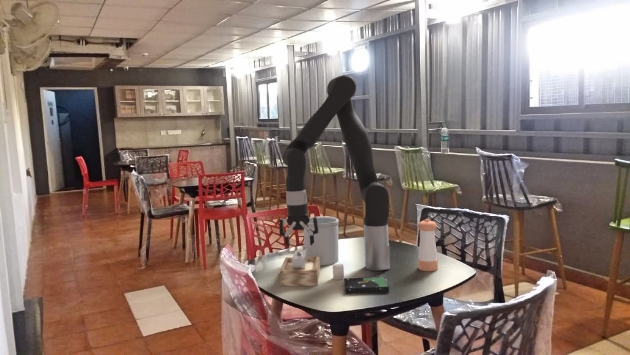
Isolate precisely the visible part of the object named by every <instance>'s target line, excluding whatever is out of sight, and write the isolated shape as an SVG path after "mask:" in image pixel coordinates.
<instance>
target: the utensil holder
mask: <svg viewBox="0 0 630 355" xmlns="http://www.w3.org/2000/svg"><path fill="white" fill-rule="evenodd" d="M312 217H313V216H312ZM312 217H311V216H310V218H312ZM316 217H317V223H318V233H317V234H314V244H313V245H310V234H309V233H308V232H307V231H306V230H305V229H303V239H304V240H303V241H304V243H303V244H304V250H307V257H317V256H320V267H321V266H331V265H334V264H337V263H338V262H339V218H337V217H333V216H325V215H324V216H316ZM308 225H309V227H310V228H311V229H312V230H315V229H314V223H312V222H311V221H309V223H308Z"/></svg>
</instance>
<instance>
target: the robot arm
mask: <svg viewBox="0 0 630 355" xmlns="http://www.w3.org/2000/svg"><path fill="white" fill-rule="evenodd" d="M356 91H357V84H356V81H355V79H354V78H353V77H351V76H350V75H346V74H345V75H344V74H343V75H339V76H337V77H333V78H332V79H331V80H329V82H328V84H327V87H326V92H327V97H326V99H325V100H324V102H323V103H322V104H321V106H320V107H319V108H318V109H317V110H316V112H314V113H313V115H311V116H310V118H309V119H308V120H307V121H306V122H305V124H304V125H303V127H302V128H301V130H300V131H299V133H298V134H297V136H296V137H295V138H294V139H293V140H292V141H291V142H290V143H289V144H288V145H287V147H286V148H285V149H284V151H283V152H282V156H281V159H282V162H283V164H284V165H285V166H286V167H287V176H286V177H285V188H286V189H285V190H286V192H285V193H286V195H285V196H286V210H287V212H286V213H287V218H282V217H281V218H280V219H279V221H278V222H279V226H278V227H279V236H283V237H284V241H285V242H284V243H285V246H287V247H290V246H291V244H290V243H291V242H290V234H291V232H292V230H294V231H298V230H301V231H302V230H303V231H304V229H305V230H306V231H307V232H308V233H309V234H310V245H313V244H314V234H317V233H318V223H317V217H318V216H312V218H311V217H309V209H308V196H307V190H306V179H305V176H306V169H307V168H306V167H307V166H306V165H307V159H306V156H305V154H306V153H307V151H308V150H310V149H312V148H313V147H314V146H315V145H316V143H317V142H318V140H319V139H320V138H321V136H322V134H323V133H324V132H325V130H326V129H327V128H328V126H329V125H330V123H331V121H332V120H333V119H334V118H335V116H337V120H338V124H339V127H340V131H341V134H342V137H343V141H344V144H345V147H346V151H347V154H348V155H349V159H350V161H351V163H352V166H353V168H354V172H355V174H356V177H357V181H358V182H357V183H358V188H359V190H360V191H359V192H360V196H361V199H362V201H363V202H364V203H365V213H364V217H363V231H364V232H363V233H364V256H365V259H364V260H365V262H364V263H365V269H367V270H368V271H369V270H370V271H386V270H390V269H391V261H390V260H391V257H390V243H389V218H390V195H389V191H388V189H387V187H385V185H383V184H381V183H380V180H379V177H378V176H377V173H376V170H375V167H374V166H375V165H374V156H373V155H374V154H373V147H372V143H371V139H370V137H369V134H368V131H367V129H366V127H365V125H364V124H363V122H362V120H361V119H360V118H359V116H358V115H357V113H356V111H355V108H354V105H353V101H352V98H353V97H354V96H355V94H356ZM309 221H311V222H312V223H314V229H315V230H312V229H311V228H310V227H309V225H308V223H309ZM286 223H287V224H288V226H289V227H288V228H287V231H284V230H285V229H284V227H285V225H286Z"/></svg>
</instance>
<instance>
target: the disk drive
mask: <svg viewBox="0 0 630 355" xmlns="http://www.w3.org/2000/svg"><path fill="white" fill-rule="evenodd" d="M343 281H344V282H343V285H344V294H345V295H364V294H365V295H368V294H388V293H389V294H390V285H389V282H388V280H387V277H383V276H382V277H380V276H376V277H375V276H374V277H349V278H347V277H346V278H345V277H344V279H343Z"/></svg>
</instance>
